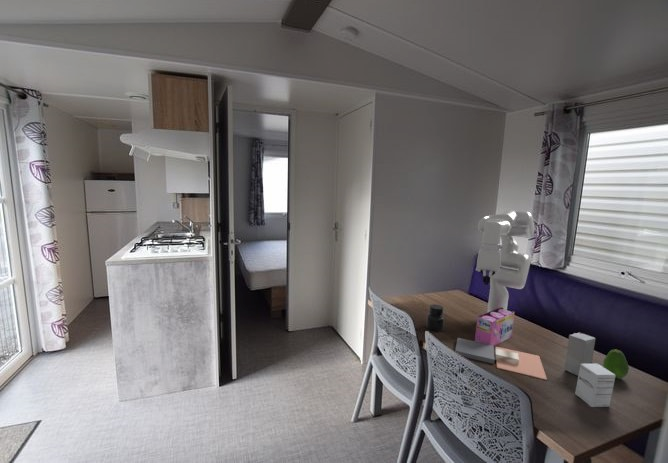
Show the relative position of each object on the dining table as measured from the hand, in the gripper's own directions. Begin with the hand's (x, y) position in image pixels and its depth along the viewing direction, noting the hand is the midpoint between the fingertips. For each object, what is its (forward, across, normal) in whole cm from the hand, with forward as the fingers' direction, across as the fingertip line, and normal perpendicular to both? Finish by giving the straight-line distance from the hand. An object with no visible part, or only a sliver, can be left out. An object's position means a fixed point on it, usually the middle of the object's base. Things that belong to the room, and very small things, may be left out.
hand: (486, 283), depth 158 cm
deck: (+29, +2, +14) cm, 32 cm away
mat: (+29, -16, +14) cm, 36 cm away
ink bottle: (+29, +22, -3) cm, 37 cm away
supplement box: (+29, -38, +31) cm, 57 cm away
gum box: (+29, -6, -4) cm, 30 cm away
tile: (+29, -11, +15) cm, 34 cm away
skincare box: (+29, -38, +10) cm, 49 cm away
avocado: (+29, -51, +8) cm, 59 cm away
